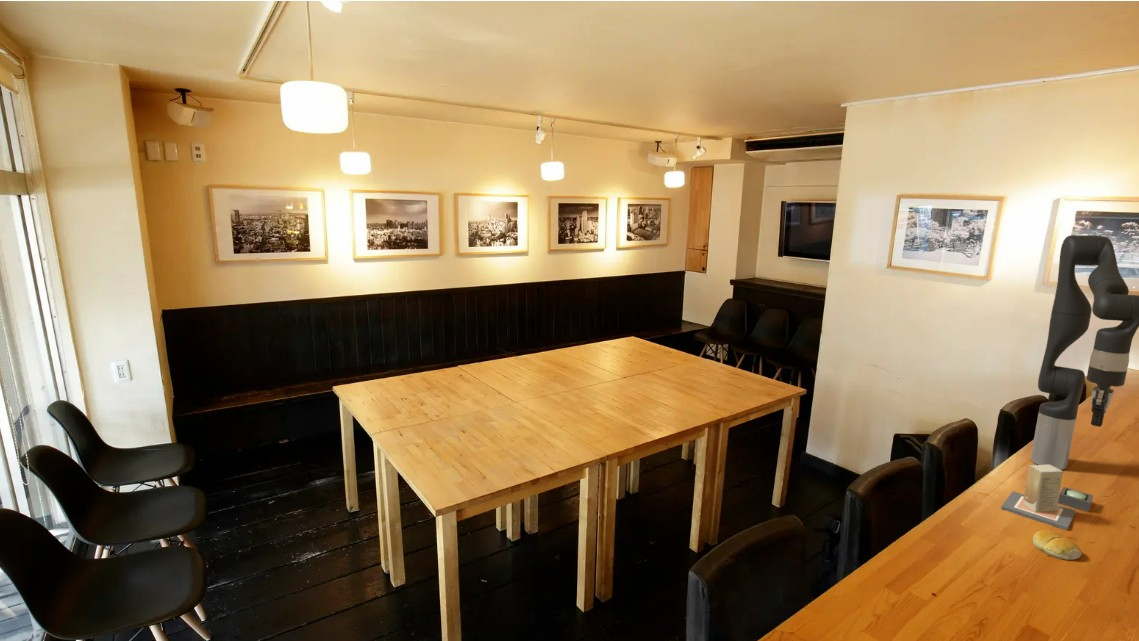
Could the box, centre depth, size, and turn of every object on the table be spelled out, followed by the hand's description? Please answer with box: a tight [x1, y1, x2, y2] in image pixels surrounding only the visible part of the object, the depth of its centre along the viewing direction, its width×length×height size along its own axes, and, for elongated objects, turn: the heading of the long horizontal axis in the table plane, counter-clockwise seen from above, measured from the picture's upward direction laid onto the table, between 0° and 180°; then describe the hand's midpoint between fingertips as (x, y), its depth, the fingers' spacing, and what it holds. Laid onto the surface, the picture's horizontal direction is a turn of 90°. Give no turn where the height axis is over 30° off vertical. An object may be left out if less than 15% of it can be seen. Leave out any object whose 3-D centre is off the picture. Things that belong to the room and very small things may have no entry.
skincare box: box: [1023, 464, 1064, 512], centre depth 151 cm, size 6×4×12 cm
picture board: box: [1000, 490, 1077, 531], centre depth 152 cm, size 13×14×1 cm
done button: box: [1067, 489, 1086, 500], centre depth 155 cm, size 4×4×2 cm
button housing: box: [1058, 486, 1094, 513], centre depth 156 cm, size 6×6×3 cm
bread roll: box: [1032, 529, 1082, 561], centre depth 135 cm, size 8×9×4 cm
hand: (1096, 425), depth 152 cm, fingers closed
